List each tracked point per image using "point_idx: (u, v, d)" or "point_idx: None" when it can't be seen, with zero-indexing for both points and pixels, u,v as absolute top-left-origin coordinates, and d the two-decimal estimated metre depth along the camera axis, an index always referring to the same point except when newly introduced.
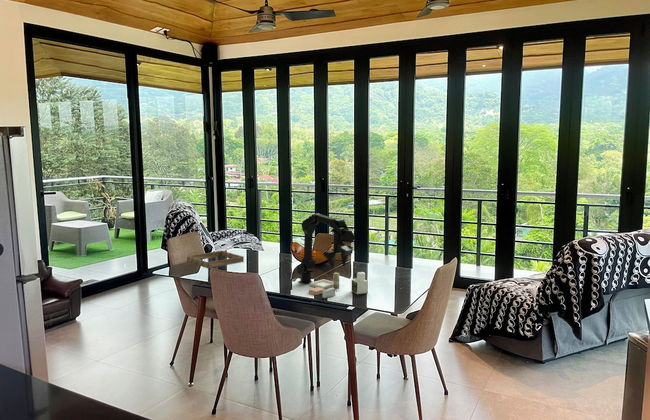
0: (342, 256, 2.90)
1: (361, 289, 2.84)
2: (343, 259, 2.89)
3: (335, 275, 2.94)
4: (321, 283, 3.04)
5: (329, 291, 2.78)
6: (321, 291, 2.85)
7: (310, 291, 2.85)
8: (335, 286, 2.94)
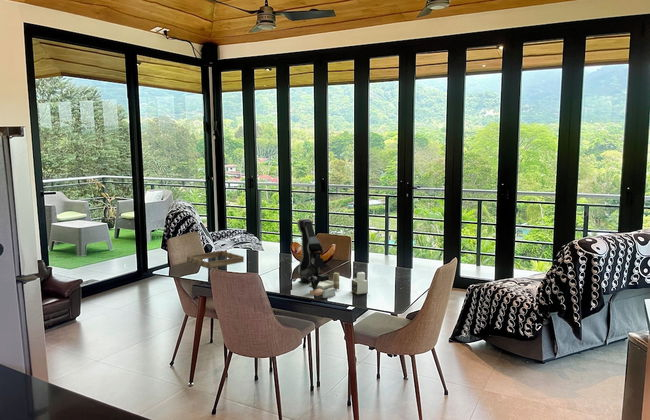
0: None
1: (361, 289, 2.84)
2: None
3: (335, 275, 2.94)
4: (321, 283, 3.04)
5: (329, 291, 2.78)
6: (322, 293, 2.83)
7: (311, 292, 2.84)
8: (335, 286, 2.94)
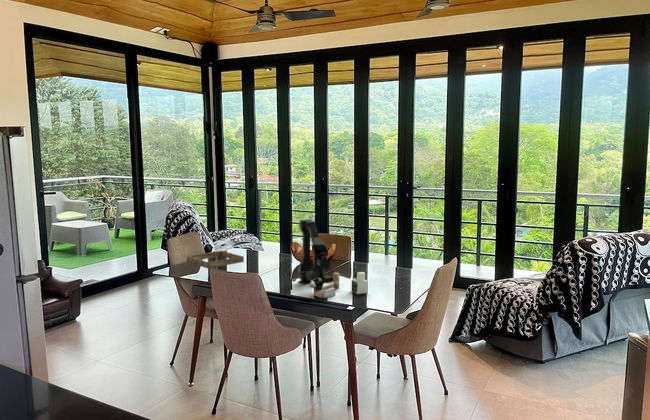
0: None
1: (361, 289, 2.84)
2: None
3: (335, 275, 2.94)
4: None
5: (329, 291, 2.78)
6: None
7: (315, 293, 2.81)
8: (335, 286, 2.94)
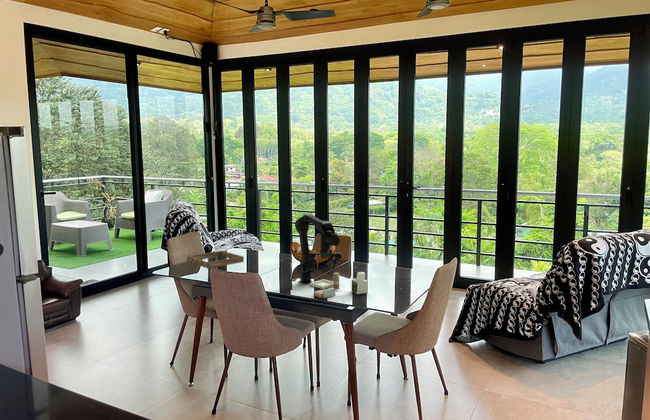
0: None
1: (361, 289, 2.84)
2: (333, 263, 2.89)
3: (335, 275, 2.94)
4: (321, 283, 3.04)
5: (329, 291, 2.78)
6: None
7: (315, 293, 2.81)
8: (335, 286, 2.94)
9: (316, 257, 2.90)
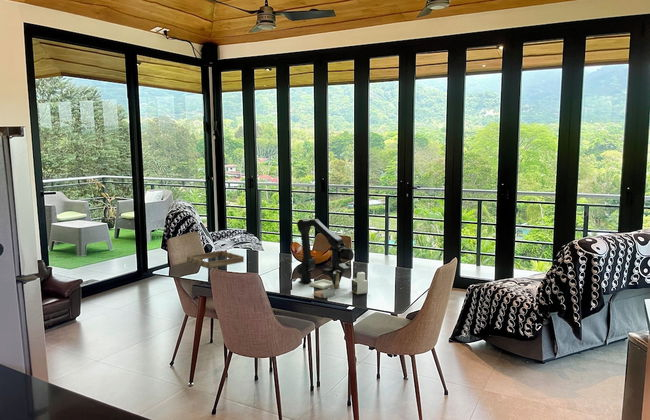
0: None
1: (361, 289, 2.84)
2: None
3: None
4: (321, 283, 3.04)
5: (329, 291, 2.78)
6: None
7: (315, 293, 2.81)
8: (335, 286, 2.94)
9: None
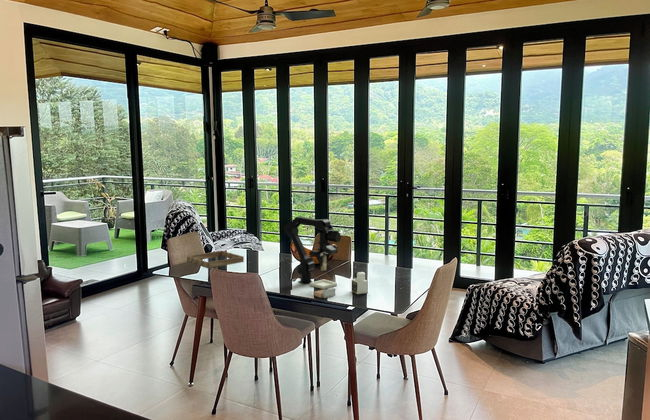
0: None
1: (361, 289, 2.84)
2: None
3: None
4: (321, 283, 3.04)
5: (329, 291, 2.78)
6: None
7: (315, 293, 2.81)
8: (322, 268, 2.98)
9: None
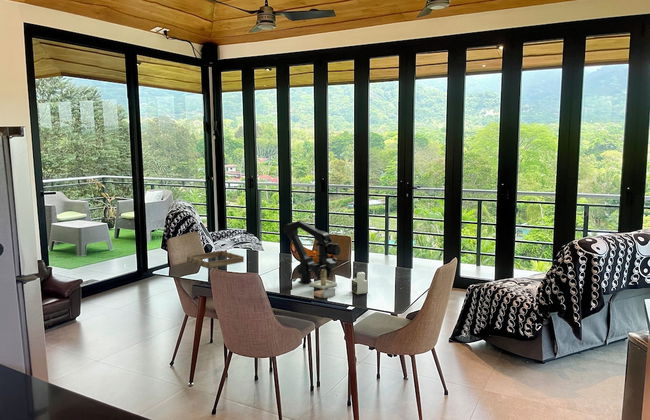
0: (326, 268, 3.04)
1: (361, 289, 2.84)
2: (327, 271, 3.03)
3: (322, 272, 2.99)
4: None
5: (329, 291, 2.78)
6: None
7: (315, 293, 2.81)
8: (322, 282, 2.99)
9: None
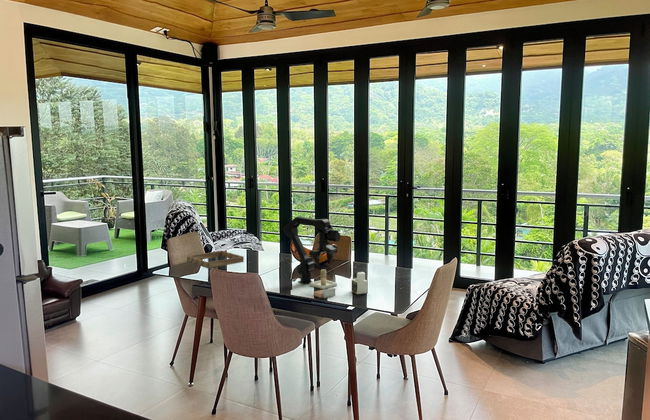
0: (327, 255, 3.03)
1: (361, 289, 2.84)
2: (328, 258, 3.03)
3: (322, 272, 2.99)
4: None
5: (329, 291, 2.78)
6: None
7: (315, 293, 2.81)
8: (322, 282, 2.99)
9: None
